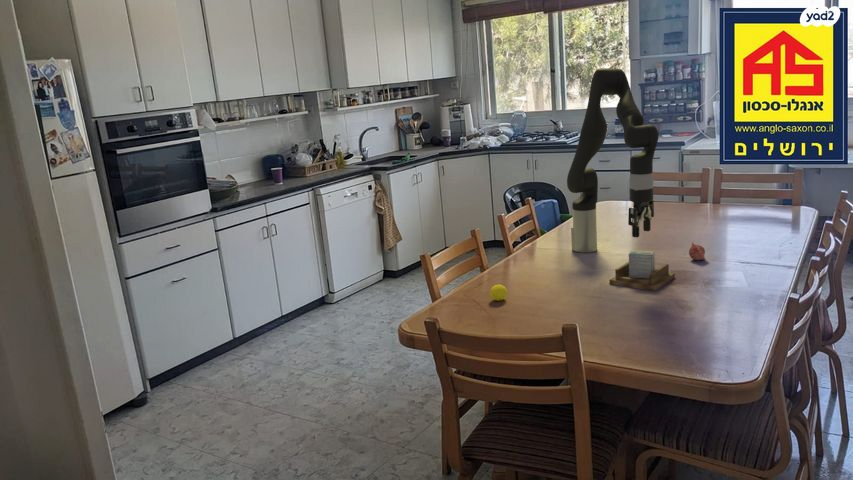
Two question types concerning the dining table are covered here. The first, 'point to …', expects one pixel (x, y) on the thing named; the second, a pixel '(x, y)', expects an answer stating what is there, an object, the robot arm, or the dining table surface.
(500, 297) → the lemon
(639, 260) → the medicine box
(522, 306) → the dining table surface
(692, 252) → the orange ridged rounded piece
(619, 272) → the brown wooden tray
